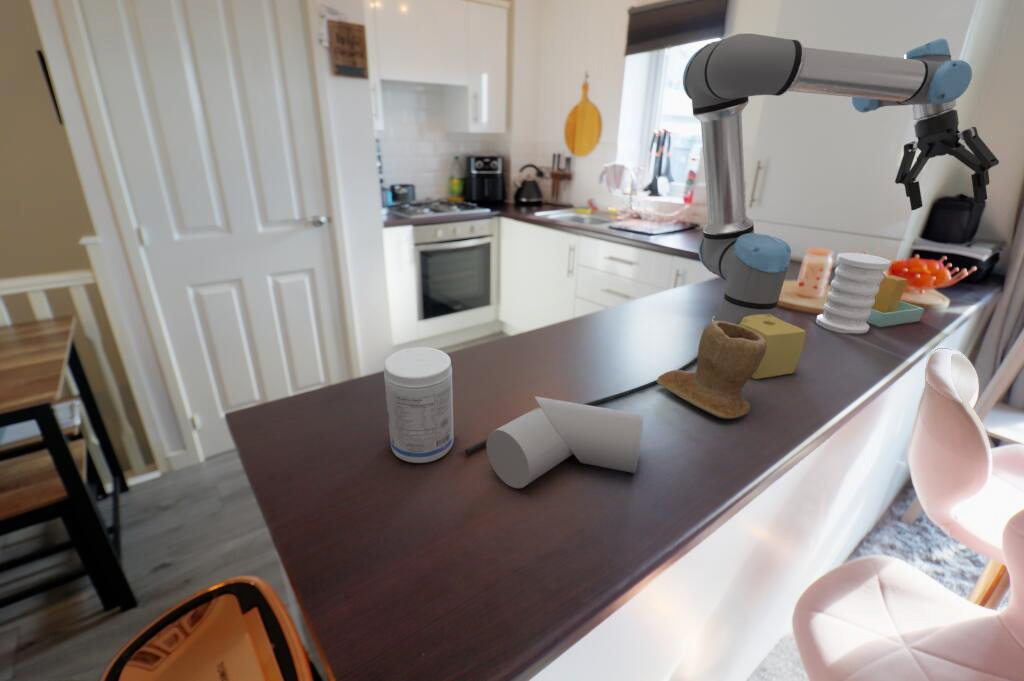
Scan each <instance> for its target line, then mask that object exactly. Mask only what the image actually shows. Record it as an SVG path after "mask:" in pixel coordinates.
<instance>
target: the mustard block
mask: <svg viewBox="0 0 1024 681" xmlns="http://www.w3.org/2000/svg"><path fill="white" fill-rule="evenodd" d="M908 281H909V279H907V278H905V277H900V276H897V275H884V278H883V280H882V281H881V282H880V284H879V292H878V293H877V294H876V295H875V303H874V305H873V306H872V307H871V309H874V310H876V311H879V312H882V313H889V312H896V310H897V307H898V305H899V302H900V301H901V299H902V297H903V294H904V291H905V289H906V286H907V283H908Z"/></svg>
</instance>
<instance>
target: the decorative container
mask: <svg viewBox="0 0 1024 681" xmlns="http://www.w3.org/2000/svg"><path fill="white" fill-rule="evenodd" d="M836 261H837V262H838V264H837V267H836V268H835V269H834V277H833V279H832V280H831V281H830V289H829V291H828V292H827V294H826V298H827V300H826V302H825V303H824V304H823V306H822V307H823V312H822V313H820V314H818V315H817V316H816V319H815V323H816V324H817V325H818V326H819V327H821V328H824V329H825V330H827V331H831V332H835V333H840V334H845V335H850V334H865V333H867V332H869V331H870V324H869V323H868V322H866V320H867V319H868V318H869V317H870V313H871V312H870V309H871V307H872V306H873V305H874V303H875V299H874V298H875V296H876V294H877V293H878V292H879V285H880V282H881V281H882V280H883V278H884V276H885V275H884V272H885V270H889V269H890V267H891V265H892V261H891V260H890V259H888V258H886V257H882V256H878V255H874V254H867V253H861V252H860V253H859V252H840V253H838V254H837V256H836Z"/></svg>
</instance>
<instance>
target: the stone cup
mask: <svg viewBox="0 0 1024 681" xmlns="http://www.w3.org/2000/svg"><path fill="white" fill-rule="evenodd" d="M765 352H766V341H765V339H764V338H763V337H762V336H761V335H760V334H758V333H757V332H755V331H753V330H750V329H748V328H745V327H743V326H740V325H737V324H733V323H728V322H725V321H713V322H711V323H710V322H709V323H708V324H707V325H706V327H704V329H703V331H702V333H701V336H700V340H699V344H698V351H697V356H698V361H697V366H696V370H695V371H694V372H693V371H690V370H684V371H683V370H678V369H673V370H669V371H666V372H664V373H663V374H661V375H659V376H658V377H657V379H656V380H657V381H656V382H657V383H658V384H657V385H659V386H661V387H663V388H664V389H666V390H668V391H669V392H671V393H672V394H674V395H675V396H677V397H679V398H680V399H683V400H684V401H686V402H688V403H690V404H691V405H693V406H695V407H697V408H699V409H701V410H702V411H704V412H707V413H709V414H711V415H712V416H715V417H718V418H719V419H725V420H732V419H739V418H741V417H743V416H746V414H748V413H749V412H750V409H751V404H750V402H749V401H748V400H746V398H744V397H743V396H742V390H743V389H744V387H745V385H746V383H747V382H748V381H749V380H750V379H751V378H752V377H751V376H752V375H753V374H754V373H755V371H756V370H757V368H758V366H759V364H760V363H761V361H762V359H763V357H764V355H765Z"/></svg>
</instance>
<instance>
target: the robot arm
mask: <svg viewBox="0 0 1024 681" xmlns="http://www.w3.org/2000/svg"><path fill="white" fill-rule="evenodd" d="M972 69H973V68H972V67H971V65H970V64H969V63H968V62H967V61H965V60H962V59H955V60H953V59H952V54H951V52H950V46H949V43H948V40H947V39H946V38H938V39H935V40H931V41H930V42H928V43H925V44H922V45H920V46H918V47H915V48H912V49H910V50H908V51H906V52H905V53H904V54H903V57H896V56H887V55H880V54H879V55H877V54H868V53H860V52H859V53H858V52H850V51H840V50H831V49H822V48H814V47H813V48H812V47H806V46H805V47H804V46H803V43H802V42H801V41H800V40H798V39H791V38H784V37H777V36H772V35H771V36H770V35H764V34H758V33H737V34H734V35H731V36H729V37H726V38H723V39H720V40H716V41H712V42H710V43H707V44H705V45H704V46H703V47H701V48H699V49H698V50H696V52H695V53H693V54H692V56H691V57H690V58H689V60H688V61H687V63H686V65H685V67H684V70H683V75H682V87H683V90H684V92H685V94H686V96H687V97H688V98H689V99H690V100H691V108H692V116H693V117H695V118H696V119H697V120H698V121H699V122H700V128H701V129H700V130H701V141H702V154H703V166H704V177H705V178H704V179H705V191H706V205H707V216H708V217H707V218H708V222H707V223H706V224H705V225H704V227H703V228H702V234H703V235H702V239H701V240H700V241H699V244H698V247H697V248H698V257H699V260H700V262H701V264H702V265H703V266H704V267H705V268H706V269H707V270H708V272H710V273H712V274H714V275H716V276H718V277H719V278H721V279H723V280H724V281H726V285H725V291H724V294H723V299H722V301H721V302H720V305H719V306H718V308H717V309H716V311H715V314H714V315H713V316H712V317H711V320H710V321H709V324H710V323H711V322H713V321H725V322H728V323H733V324H737V325H739V324H740V323H741V321H742V319H743V318H744V317H746V316H751V315H759V314H770V315H772V316H774V317H776V318H778V317H777V307H778V304H779V301H780V297H781V293H782V289H783V285H784V282H785V278H786V275H787V271H788V268H789V267H790V265H791V264H790V263H791V255H792V248H791V246H790V245H789V243H788V242H786V241H785V240H783V239H781V238H779V237H776V236H771V235H769V234H763V233H755V226H754V221H753V220H752V219H751V218H749V217H748V215H747V206H746V205H747V203H746V202H747V201H746V180H745V158H744V157H745V156H744V136H743V135H744V134H743V116H742V114H743V113H742V112H743V110H745V108H746V107H747V106H748V104H749V98H750V97H756V96H777V97H779V96H783V95H785V94H786V93H787V92H794V93H805V94H816V95H827V96H835V97H836V96H838V97H846V98H847V97H850V98H851V104H852V106H853V109H855V110H856V111H857V112H859V113H865V114H866V113H868V112H871V111H876V110H878V109H880V108H883V107H884V108H885V107H895V106H896V107H897V106H899V107H900V106H910V108H911V115H912V120H914V121H915V122H914V123H913V127H914V134H915V135H914V136H915V138H917V141H915V140H914V141H910V142H908V143H906V144H904V145H903V156H902V158H901V162H900V164H899V167H898V170H897V173H896V177H895V180H894V183H895V184H902V185H903V186H904V190H905V195H906V198H909V204H910V210H911V211H916V210H918V209H920V208H922V207H923V206H924V205H923V199H922V193H921V186H920V180H917V178H918V177H919V175H920V174H921V172H922V171H923V169H924V167H925V166H926V164H928V161H929V160H930V159H932V158H935V157H943V156H946V155H949V156H951V157H954V159H957V160H958V161H959V162H961V163H962V164H964V166H966V167H967V168H969V169H970V170H971V171H973V172H974V173H972V174H970V176H971V185H972V192H973V202H974V204H980V203H982V202H984V201H986V200H988V193H987V186H988V185H990V174H989V171H990V169H992V168H993V167H995V166H998V165H999V164H1000V160H999V159H998V158H997V156H996V155H995V154H994V153H993V152H992V151H991V149H990V148H989V147H988V146H987V144H986V143H985V142H984V141H983V139H982V138H981V137H980V136H979V132H978V129H977V127H976V126H971V127H969V128H967V129H964V130H962V131H960V129H959V124H960V123H959V114H958V110H956V109H955V108H956V106H957V99H959V98H961V97H962V96H963V94H964V93H965V92H966V91H967V89H968V88H969V86H970V84H971V81H972V79H973V78H972V77H973V70H972ZM960 140H961V141H964V143H965V145H966V146H967V148H966V146H965V145H964V144H963V143H961V142H960ZM968 149H969V150H968ZM917 150H919V151H920V152H919V154H918V155H917V157H916V161H915V162H914V160H915V156H916V153H917ZM913 162H914V164H913ZM695 363H698V355H697V356H696V357H694V358H693V359H692V360H690V361H689V362H687V363H686V364H685V365H682V366H681V367H679V368H677V370H683V371H687V369H689V368H690V367H692V366H693V365H694V364H695ZM656 381H657V379H655V380H653V381H650V382H648V383H645V384H643V385H640V386H637V387H634V388H631V389H628V390H624V391H621V392H619V393H615V394H612V395H609V396H606V397H603V398H599V399H596V400H592V401H588V402H585V403H583V404H584V405H590V406H599V405H601V404H602V405H603V404H605V403H608V402H611V401H615V400H618V399H621V398H624V397H627V396H630V395H633V394H635V393H638V392H641V391H644V390H647V389H649V388H651V387H654V386H657V385H659V384H658V383H657V382H656ZM486 443H487V438H486V439H485V440H484V439H483V441H479V442H478V443H476V444H474V445H472V446H470V447H468V448H466V449H465V450H464V452H465V454H466V455H467V456H468V455H470V454H472V453H475V452H476V451H479V450H480V449H482V448H484V447H486Z"/></svg>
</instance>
